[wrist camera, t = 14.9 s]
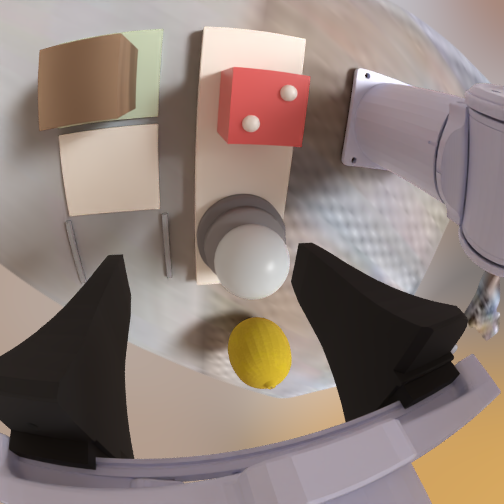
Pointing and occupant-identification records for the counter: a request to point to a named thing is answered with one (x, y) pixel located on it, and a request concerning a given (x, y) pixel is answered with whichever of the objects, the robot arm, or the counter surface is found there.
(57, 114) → the brown block
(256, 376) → the lemon
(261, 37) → the game board
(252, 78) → the die
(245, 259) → the dome
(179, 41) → the counter surface
